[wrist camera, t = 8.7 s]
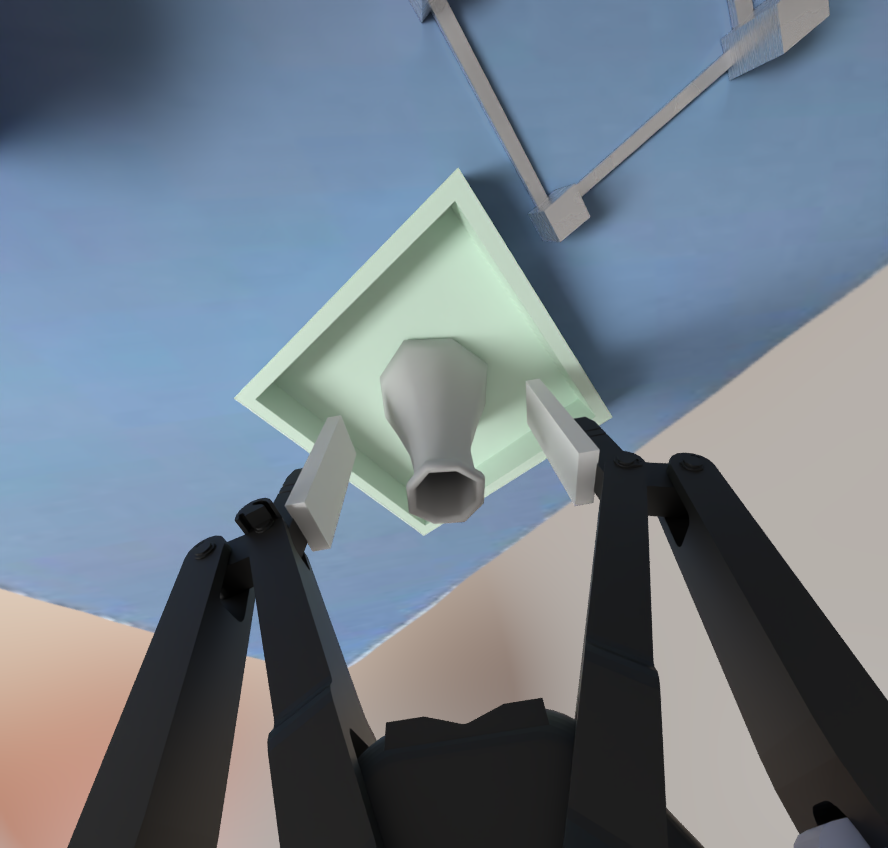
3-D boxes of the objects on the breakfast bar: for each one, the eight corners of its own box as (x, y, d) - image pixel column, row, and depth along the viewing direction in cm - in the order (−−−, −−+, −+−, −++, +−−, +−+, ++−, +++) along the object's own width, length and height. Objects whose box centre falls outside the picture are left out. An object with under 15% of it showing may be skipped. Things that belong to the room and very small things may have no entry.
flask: (392, 319, 18) (370, 394, 10) (505, 352, 20) (571, 442, 11) (369, 422, 22) (339, 544, 13) (467, 443, 23) (495, 565, 15)
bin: (451, 178, 16) (458, 167, 13) (590, 396, 23) (612, 417, 20) (257, 377, 20) (233, 398, 17) (423, 507, 27) (423, 535, 25)
